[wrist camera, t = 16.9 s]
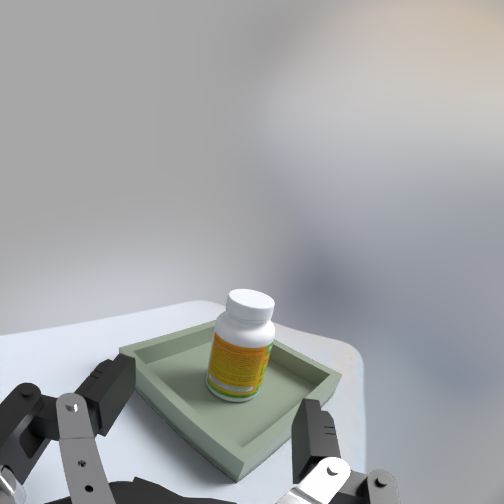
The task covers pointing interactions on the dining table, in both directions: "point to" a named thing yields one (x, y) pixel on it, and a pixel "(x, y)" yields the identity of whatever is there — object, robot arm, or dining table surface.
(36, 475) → the dining table surface
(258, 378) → the supplement bottle
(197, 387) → the tray
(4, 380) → the dining table surface
